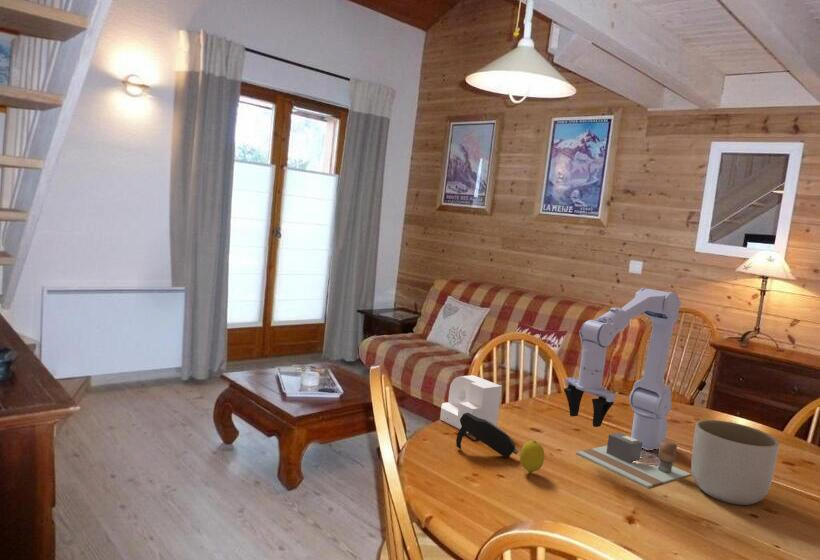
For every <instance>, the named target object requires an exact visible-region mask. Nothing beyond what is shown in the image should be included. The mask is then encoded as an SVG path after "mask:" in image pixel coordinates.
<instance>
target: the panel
mask: <svg viewBox="0 0 820 560" xmlns="http://www.w3.org/2000/svg"><path fill="white" fill-rule="evenodd" d="M606 452H607V445H604V446H599V447H593V448H589V449H584V450H579V451H576V453H575V454H576V455H577V456H579V457H582V458H584V459H586V460H588V461H590V462H592V463H595V464H596V465H598V466H600V467H603V468H604V469H606V470H608V471H611V472H613V473H615V474H617V475H619V476H621V477H622V478H625V479H628V480H630V481H631V482H634V483H636V484H638V485H640V486H641V487H643V488H646V489H649V488H652V487H655V486H656V487H657V486H660V485H663V484H666V483H670V482H672V481H673V482H674V481H675V480H679V479H682V478H685V477H688V476H691V475H692V473H690V472H687V471H686V470H682V469H681V468H678V467H676V466H673V465H672V470H671V473H664V472H661V471H659V470H658V467H659V465H658V466H655V465H644V464H643V465H642V464H636V463H627V462H625V461H623V460H621V459H619V458H617V457H614V456H612V455H610V454H608V453H606Z"/></svg>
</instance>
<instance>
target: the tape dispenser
mask: <svg viewBox="0 0 820 560" xmlns="http://www.w3.org/2000/svg"><path fill="white" fill-rule="evenodd" d="M502 386H503V385H500V384H498V383H495V382H492V381H490V380H487V379H485V378H482V377H479V376H477V375H474V374H471V375H461V376H457V377H455V378H453V380H452V381H451V383H450V386H449V392H448V398H447V399H448V402H442V403H441V407H440V417H439V420H440V421H441V422H442V421H443V422H444V423H446V424H448V425H450V426H452V427H454V428H457V429H458V430H460V429H461V427H462V426H461V423H460V418H461V417H462V415H463V414H464V413H470V414H472V415H474V416H476V417H477V418H481V419H484V420H486V421H488V422H491V423H492V424H494V425H495V426H497V427H498V419H499V412H500V405H501V397H502V396H501V395H502ZM447 418H448V419H447ZM466 434H467V435H469V433H468V432H466Z"/></svg>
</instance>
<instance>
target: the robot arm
mask: <svg viewBox="0 0 820 560" xmlns="http://www.w3.org/2000/svg"><path fill="white" fill-rule="evenodd" d="M681 302H682V301H681V300H680V298H679V296H678V294H677V293H676V292H670V291H669V292H668V291H662V290H658V289H652V288H647V287H641V288H640V289H639V290H637V291H636V293H635V295H634V298H632V299H631V300H630V301H629V302H627V303H626V304H625V305H624V306H622V307H621V308H620V307H614V306H612V307H611V308H610V309H609V311H607V312H605V313H604V314H602V315H600V316H598V318H596V319H588V320H587V321H585V322H583V323H582V324H581V327H580V329H579V331H578V332H579V333H578V335H579V339H580V341H581V342H580V347H581V348H580V349H582V350H581V357H580V367H579V373H578V379H577V378H574V377H565V382H564V385H565V386H567V387H564V388H563V392H564V394H565V396H566V398H567V403H568V408H569V409H568V410H569V416H570V417H572V418H573V417H578V415H579V412H580V407H581V401H582V398H583V395H584V393H587V394H590V395H592V396H595V397H597V398H592V399H591V402H592V407H593V409H592V410H593V416H592V427H594V428H597V427H599V428H600V427H601V426H602V423H603V420H604V418H605V416H606V414H607V413H608V411H609V410H610V409H611V407H612V406H613V405H614V404H615V401H616V400H615V398H616V393H613V392H611V391H610V390H608V389H606V388H605V387H603V378H604V373H605V372H604V371H605V366H606V365H605V364H606V358H607V357H606V356H607V349H608V346H610V345H612V342H613V341H614V338H616V336H617V334H619V333H620V332H622V331H623V330H624V329H626V328H628V326H629V325H630V320H631V319H634V318H636V317H638V316H639V315H641V314H644V315H645V316H646V317H648V318H649V320H650V321H651V322H652V326H651V327H652V328H651V331H650V332H651V333H650V338H649V345H648V350H647V355H646V361H645V366H644V372H643V377H642V378H641V379H638V380H637V381H635V382H634V384H633V387H632V390H631V392H630V393H629V396H628V397H629V401H628V402H629V405H630V407H632V410H631V411H633V419H632V420H633V421H632V426H631V434H630V437H632V438H634V439H637V440H639V441H641V442H643V443H642V448H645V449H656V450H659V448H660V441H666V438H667V431H668V420H667V417H666V416H668V415H669V414H670V412H671V409H672V390H671V389H670V388H669V387H668V386H667V384H666V383H665V382H664V379H665V375H666V369H667V363H668V357H669V352H670V347H671V340H672V335H673V332H674V331H673V330H674V324H675V323H677V322H678V318H679V313H680V308H681Z"/></svg>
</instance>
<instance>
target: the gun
mask: <svg viewBox="0 0 820 560" xmlns="http://www.w3.org/2000/svg"><path fill="white" fill-rule="evenodd" d="M460 423H461V426H462V427H461V429H458V432H457V434H456V440H455V445H456V447H457V448H458V449H459V450H462V440H463V438H464V437H465V438H466V439H468V440H470V441H471V442H474V443H477V442H479V441H480V442H481V443H483V444H484V445H486V446H488V447H489V448H490V449H492V450H493V451H495V452H496V453H498V454H499V455H501V456H502V457H504V458H510V456H511V455H512V454H515V455H517V454H518V453H519V450H518V449H517V448H516V445H515V442H514V440H512V438H511V437H510V436H509V434H507V432H506V431H504V430H503V429H501V428H500V427H498V425H497V426H495V425H494V424H492V423H491V422H488V421H486V420H484V419H481V418H477V417H476V416H474V415H472V414H470V413H464V414H463V415H462V417H461V418H460ZM466 432H468V433H469V434H468V433H466ZM471 436H472V437H473V438H472V437H471ZM474 437H475V439H474Z"/></svg>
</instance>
